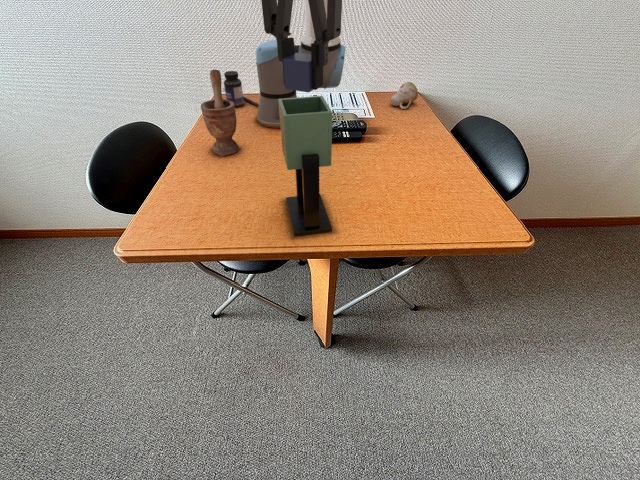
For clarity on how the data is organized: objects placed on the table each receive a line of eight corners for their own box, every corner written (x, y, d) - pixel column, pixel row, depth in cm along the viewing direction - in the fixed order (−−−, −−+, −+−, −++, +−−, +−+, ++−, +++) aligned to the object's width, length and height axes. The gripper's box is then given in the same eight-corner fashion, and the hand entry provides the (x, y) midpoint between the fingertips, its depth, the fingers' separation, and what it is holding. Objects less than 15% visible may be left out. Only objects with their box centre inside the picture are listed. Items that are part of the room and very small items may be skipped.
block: (284, 88, 56) (282, 58, 53) (297, 81, 59) (296, 52, 56) (309, 92, 55) (308, 61, 52) (321, 84, 58) (321, 55, 55)
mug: (383, 105, 125) (392, 77, 123) (401, 113, 131) (410, 86, 128) (398, 106, 119) (407, 76, 117) (416, 114, 125) (425, 86, 122)
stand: (319, 197, 80) (319, 127, 69) (332, 231, 71) (334, 157, 59) (286, 200, 79) (280, 130, 68) (294, 236, 69) (288, 161, 58)
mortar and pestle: (205, 143, 102) (188, 71, 89) (233, 137, 105) (220, 66, 92) (215, 159, 94) (198, 83, 81) (245, 152, 97) (233, 78, 84)
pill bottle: (224, 104, 126) (218, 72, 118) (238, 100, 129) (233, 69, 121) (233, 109, 122) (227, 76, 115) (247, 105, 125) (243, 72, 118)
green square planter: (322, 146, 69) (322, 95, 63) (331, 165, 63) (332, 112, 57) (282, 150, 68) (278, 98, 61) (287, 170, 62) (283, 115, 55)
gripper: (219, -117, 42) (246, 84, 57) (352, -126, 36) (343, 100, 51) (253, -110, 47) (270, 72, 62) (375, -118, 41) (360, 85, 56)
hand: (303, 84), depth 57 cm, fingers closed on block, 4 cm apart
